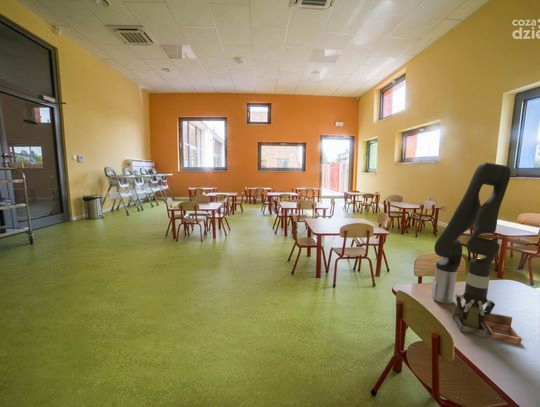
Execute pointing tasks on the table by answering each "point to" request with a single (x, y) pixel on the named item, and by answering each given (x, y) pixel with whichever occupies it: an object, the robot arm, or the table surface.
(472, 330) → the shaker rack
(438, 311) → the table surface
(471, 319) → the cork
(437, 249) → the robot arm
